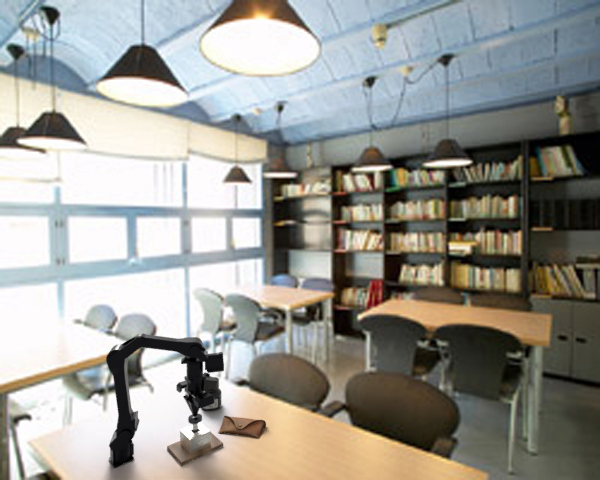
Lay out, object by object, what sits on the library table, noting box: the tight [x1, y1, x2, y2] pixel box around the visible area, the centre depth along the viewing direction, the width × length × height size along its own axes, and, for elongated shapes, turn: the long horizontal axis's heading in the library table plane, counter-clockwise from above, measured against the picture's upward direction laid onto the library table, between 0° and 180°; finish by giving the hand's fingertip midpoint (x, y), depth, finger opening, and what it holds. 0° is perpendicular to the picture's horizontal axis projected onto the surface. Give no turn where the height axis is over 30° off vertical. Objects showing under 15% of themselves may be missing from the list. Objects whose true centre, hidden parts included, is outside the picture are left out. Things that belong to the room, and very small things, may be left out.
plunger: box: [187, 413, 203, 433], centre depth 131 cm, size 5×5×6 cm
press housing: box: [179, 421, 212, 454], centre depth 131 cm, size 8×8×5 cm
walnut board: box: [166, 432, 224, 467], centre depth 131 cm, size 16×12×1 cm
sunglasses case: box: [217, 415, 267, 439], centre depth 143 cm, size 18×7×7 cm, turn 81°
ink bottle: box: [201, 376, 222, 412], centre depth 161 cm, size 10×9×12 cm
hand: (195, 415), depth 131 cm, fingers closed
